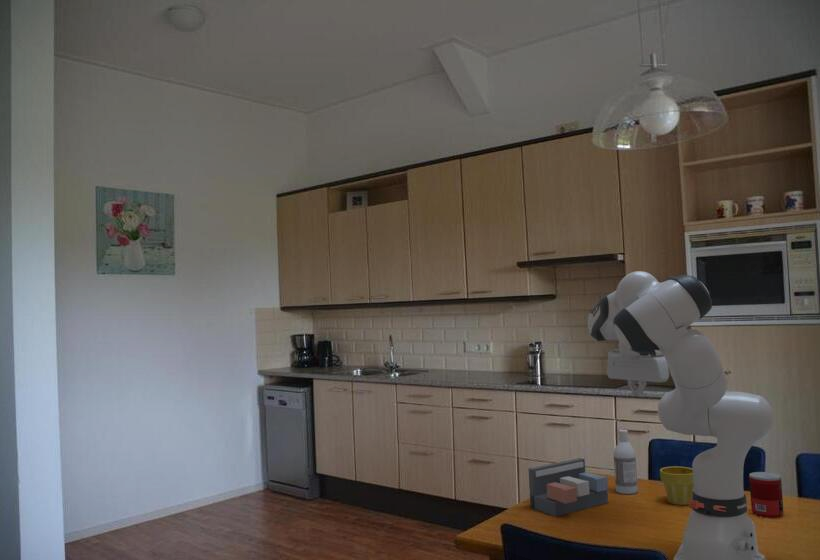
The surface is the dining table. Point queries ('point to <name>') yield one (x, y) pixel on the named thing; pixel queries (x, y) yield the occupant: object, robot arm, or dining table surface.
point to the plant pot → (678, 484)
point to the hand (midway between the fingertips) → (637, 395)
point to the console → (553, 474)
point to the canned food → (766, 494)
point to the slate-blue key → (595, 481)
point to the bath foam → (625, 465)
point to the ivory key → (576, 485)
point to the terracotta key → (561, 492)
